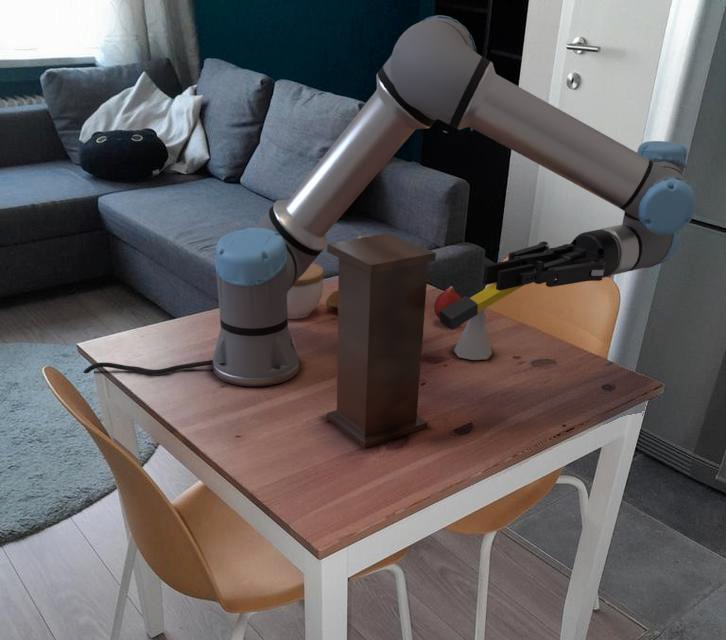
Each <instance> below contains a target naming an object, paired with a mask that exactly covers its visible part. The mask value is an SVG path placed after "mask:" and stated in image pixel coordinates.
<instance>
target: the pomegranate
mask: <svg viewBox="0 0 726 640" xmlns="http://www.w3.org/2000/svg"><path fill="white" fill-rule="evenodd" d="M461 298H462V297H461V296H460V295H459V294H458V293H457V292H456V291H455V290H454V287H453V286H449V287H448V288H447V289H445V290H444V291H442V292H441V293H439V294H438V296H436V298H435V301H434V305H433V311H434V314H435V316H436V317H437V318H438V319H439V320H440V310H442V309H444V308H446V307H447V306H449V305H451V304H453V303H454V302H456V301H458V300H459V299H461Z"/></svg>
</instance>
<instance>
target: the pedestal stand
mask: <svg viewBox="0 0 726 640" xmlns="http://www.w3.org/2000/svg"><path fill="white" fill-rule="evenodd" d="M368 236H369V237H363V238H357V237H356V238H352V239H347V240H340V241H335V242H329V243H326V252H327V253H329V254H331V255H333V256H335V257H337V258H338V282H337V285H338V287H337V288H338V289H337V290H338V309H337V358H336V359H337V360H336V361H337V365H336V366H337V367H336V369H337V370H336V373H337V374H336V410H333V411H330V412H327V413H325V414H326V415H325V418H326V420H328V422H330V423H331V424H333V425H334V426H335V427H336V428H338V429H339V430H340V431H342V432H343V433H345V434H346V435H347V436H349V437H350V439H353V440H354V441H355V442H356V443H358V444H359V445H360V446H361V447H363V448H364V449H367V448H370V447H374V446H376V445H379V444H382V443H385V442H388V441H391V440H395V439H398V438H400V437H401V438H402V437H404V436H406V435H411V434H413V433H416V432H418V431H422V430H425V429H428V421H426V420H424V419H423V418H421V417H419V416H418V405H419V391H420V381H421V379H420V378H421V365H422V364H421V363H422V351H423V341H424V340H423V339H424V324H425V310H426V301H427V300H426V299H427V287H428V286H427V285H428V272H429V263H434V262H436V258H437V257H436V256H437V253H436V252H435V251H433V250H430V249H428V248H425V247H423V246H421V245H419V244H417V243H414V242H412V241H409V240H407V239H404V238H402V237H400V236H397V235H395V234H393V233H391V232H387V233H382V234H376V235H368Z"/></svg>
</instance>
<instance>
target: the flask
mask: <svg viewBox="0 0 726 640" xmlns="http://www.w3.org/2000/svg"><path fill="white" fill-rule="evenodd" d="M485 311H486V308H485V309H483V310H482V311H480V312H478V315H476V316H474V317H473V318H471V319H469V320H468V321H466V324H465V326H464V329H463V331H462V333H461V336H460V337H459V340H458V341H457V343H456V345H455V347H454V350H453V352H454V353H455V355H456V356H457V357H458V358H462V359H465V360H470V361H479V360H481V361H482V360H488V359H489V358H490V357H491V356H492V354H493V351H492V347H491V343H490V340H489V336H488V331H487V326H486V317H485V316H486V315H485Z"/></svg>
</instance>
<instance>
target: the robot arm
mask: <svg viewBox="0 0 726 640" xmlns="http://www.w3.org/2000/svg"><path fill="white" fill-rule="evenodd" d="M375 76H376V90H375V92H374V93H373V94H372V95H371V97H370V98H369V99H368V100H367V101H366V103H364V105H363V106H362V108H361V109H360V110H359V111H358V112H357V114H356V115H355V116H354V118H353V119H352V120H351V121H350V122H349V124H348V125H347V127H346V128H345V129H344V130H343V131H342V133H341V134H340V135H339V136H338V138H337V139H336V140H335V141H334V142H333V144H331V146H330V148H328V150H327V151H326V152H325V154H324V155H323V156H322V157H321V159H320V160H319V161H318V163H316V165H315V166H314V167H313V169H312V170H311V171H310V172H309V174H308V175H307V177H305V179H304V180H303V181H302V183H300V185H299V186H298V188H297V189H296V190H295V191H294V193H293V194H292V195H291V196H290V197H289V199H278V200H276V201H275V202H274V203H273V204H272V206H271V207H270V208H269V209H268V211H267V212H266V213H265V214H264V216H263V217H262V218H261V219H260V221H259V222H258V223H257V224H256V225H255V227H246V228H239V229H238V230H237V231H235V230H234V231H230V232H228V233H226V234H224V235H223V236H222V237H221V238H219V240H218V242H217V244H216V246H215V257H214V267H215V272H216V273H215V274H216V285H217V298H218V310H219V322H220V330H219V334H218V338H217V342H216V346H215V350H214V353H213V357H212V359H211V360H203V361H195V362H189V363H184V364H177V365H172V366H169V367H164V368H159V369H158V368H157V369H151V368H144V367H140V366H134V365H126V364H125V365H124V364H120V363H113V362H104V361H102V362H96V363H93V364H91V365H89V366H88V367H86V368H85V369H84V371H82V373H83V374H89V373H91V372H92V371H94V370H96V369H99V368H109V369H110V368H112V369H117V370H122V371H129V372H138V373H141V374H146V375H162V374H167V373H172V372H176V371H181V370H186V369H191V368H200V367H206V366H212V369H213V373H214V375H215V376H216V377H217V378H219V380H221V381H224V382H225V383H228V384H231V385H236V386H240V387H251V388H252V387H253V388H254V387H255V388H257V387H268V386H274V385H278V384H280V383H284V382H287V381H288V380H290V379H292V378H293V377H295V376H296V375H297V374H298V373H299V369H300V358H299V353H298V351H297V348H296V342H295V340H294V337H293V336H292V335H291V332H290V329H289V321H288V311H287V292H288V291H289V290H290V289H291V287H292V286H293V285H294V283H295V282H296V281H297V280H298V279H299V277H300V276H302V275H303V274H304V273H305V272H306V270H307V269H308V268H309V266H310V265H311V263H314V261H315V260H316V259H317V258H318V257H319V256H320V254H321V253H322V252H323V251H324V249H326V248H327V236H326V234H327V233H328V232H329V231H330V229H332V227H333V226H334V225H335V224H336V223H337V221H338V220H340V218H341V217H342V216H343V214H344V213H345V212H346V211H347V210H348V209H349V207H350V206H351V205H352V204H353V203H354V201H355V200H356V199H357V198H358V197H359V196H360V195H361V194H362V193H363V191H364V190H365V189H366V188H367V186H368V185H370V183H371V182H372V181H373V180H374V179H375V177H376V176H377V175H378V174H379V173H380V172H381V170H382V169H383V168H384V167H385V166H386V165H387V163H388V162H389V161H390V160H391V159H392V157H393V156H394V155H395V154H396V153H397V152H398V150H399V149H400V148H401V147H402V146H403V145H404V144H405V142H406V141H407V140H408V139H409V138H410V136H411V135H412V134H413V133H415V131H416V130H421V129H430V128H431V127H432V125H434V124H435V122H436V121H437V120H439V121H441V122H443V123H445V124H447V125H449V126H451V127H453V128H455V129H457V130H459V131H461V130H463V129H466V128H471V129H473V130H475V131H476V132H478V133H480V134H482V135H484V136H485V137H488V138H489V139H491V140H494V141H495V142H497V143H498V144H501V145H502V146H503V147H506V148H508V149H510V150H511V151H513V152H515V153H517V154H519V155H521V156H523V157H524V158H526V159H528V160H530V161H531V162H534V163H535V164H537V165H539V166H541V167H542V168H545V169H546V170H549V171H550V172H552V173H553V174H556V175H557V176H560V177H561V178H563V179H565V180H568V181H569V182H571V183H573V184H574V185H576V186H578V187H580V188H581V189H584V190H585V191H587V192H589V193H591V194H593V195H594V196H596V197H597V198H598V197H599V198H600V199H602V200H604V201H606V202H608V203H610V204H611V205H612V206H615V207H617V208H618V209H620V210H622V211H623V212H624V213H623V217H622V218H623V219H622V223H621V224H619V225H618V224H617V225H612V226H607V227H602V228H599V229H595V230H589V231H584V232H582V233H579V234H578V235H577V236H576V237H574V239H573V240H572V241H571V242H570V243H565V244H562V245H559V246H555V247H550V245H549V242H547V241H540V242H539V243H537V244H535V245H532V246H529V247H524V248H522V249H518V250H514V251H511V252H508V258H507V260H504V261H499V262H494V263H489V264H485V265H484V271H483V279H482V284H483V285H486V286H487V285H493V284H495V283H496V282H497V285H496V289H497V290H499V291H501V290H505V289H509V288H513V287H518V286H522V285H524V286H526V285H530V284H532V283H534V284H535V285H542V284H545V286H546V287H548V288H552V287H560V286H567V285H572V284H573V285H574V284H578V283H584V282H601V281H603V279H605V278H608V279H609V278H612V277H613V276H614V275H621V274H624V273H628V272H632V271H637V270H641V269H649V268H653V267H656V266H657V265H660V264H663V263H666V262H667V261H669V260H670V259H672V257H674V256H675V254H676V253H677V252H678V249H679V247H680V242H681V237H680V233H679V232H680V231H681V230H683V229H684V228H685V227H686V226H687V225H688V224H689V223H690V222H691V220H692V219H693V217H694V215H695V211H696V206H697V203H696V202H697V201H696V197H695V196H696V195H695V190H694V187H692V186H691V183H690V182H688V181H687V179H686V177H685V175H684V171H685V169H686V167H687V164H686V163H687V162H686V161H687V156H688V148H687V147H686V146H685V145H683V144H680V143H678V142H672V141H663V140H649V141H645V142H642V143H641V144H640V145H639V146H638V149H637V151H635V150H633V149H632V148H630V147H628V146H626V145H625V144H622V143H621V142H619V141H617V140H615V139H613V138H612V137H610V136H608V135H607V134H605V133H603V132H601V131H600V130H597V129H596V128H594V127H592V126H590V125H588V124H586V123H585V122H583V121H581V120H580V119H577V118H576V117H574V116H572V115H571V114H569V113H567V112H565V111H563V110H562V109H560V108H558V107H556V106H554V105H552V104H551V103H549V102H547V101H546V100H543V99H542V98H540V97H538V96H537V95H534V94H533V93H531V92H529V91H528V90H525V89H523V88H522V87H520V86H518V85H517V84H515V83H513V82H511V81H509V80H508V79H506V78H504V77H502V76H501V75H498V74H497V73H496V70H495V67H494V63H493V62H492V61H490V60H489V59H487V58H486V57H483V56H482V55H480V54H478V51H477V46H476V45H475V41H474V39H473V36H472V34H470V32H469V30H468V29H467V28H466V26H465V25H463V24H462V23H460V21H458V20H457V19H454V18H453V17H451V16H447V15H434V16H433V15H431V16H428V17H425V19H422V20H421V21H419V22H417V23H415V24H413V25H411V26H410V27H408V28H407V29H406V30H405V31H404V32H403V33H402V34H401V35H400V36H399V38H398V40H397V41H396V43H395V44H394V47H393V50H392V53H391V55H390V56H389V58H388V59H387V60H386V61H385V63H384V64H383V66H382V67H381V68H380V69H379V71H377V73H376V75H375ZM522 287H523V286H522Z"/></svg>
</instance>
